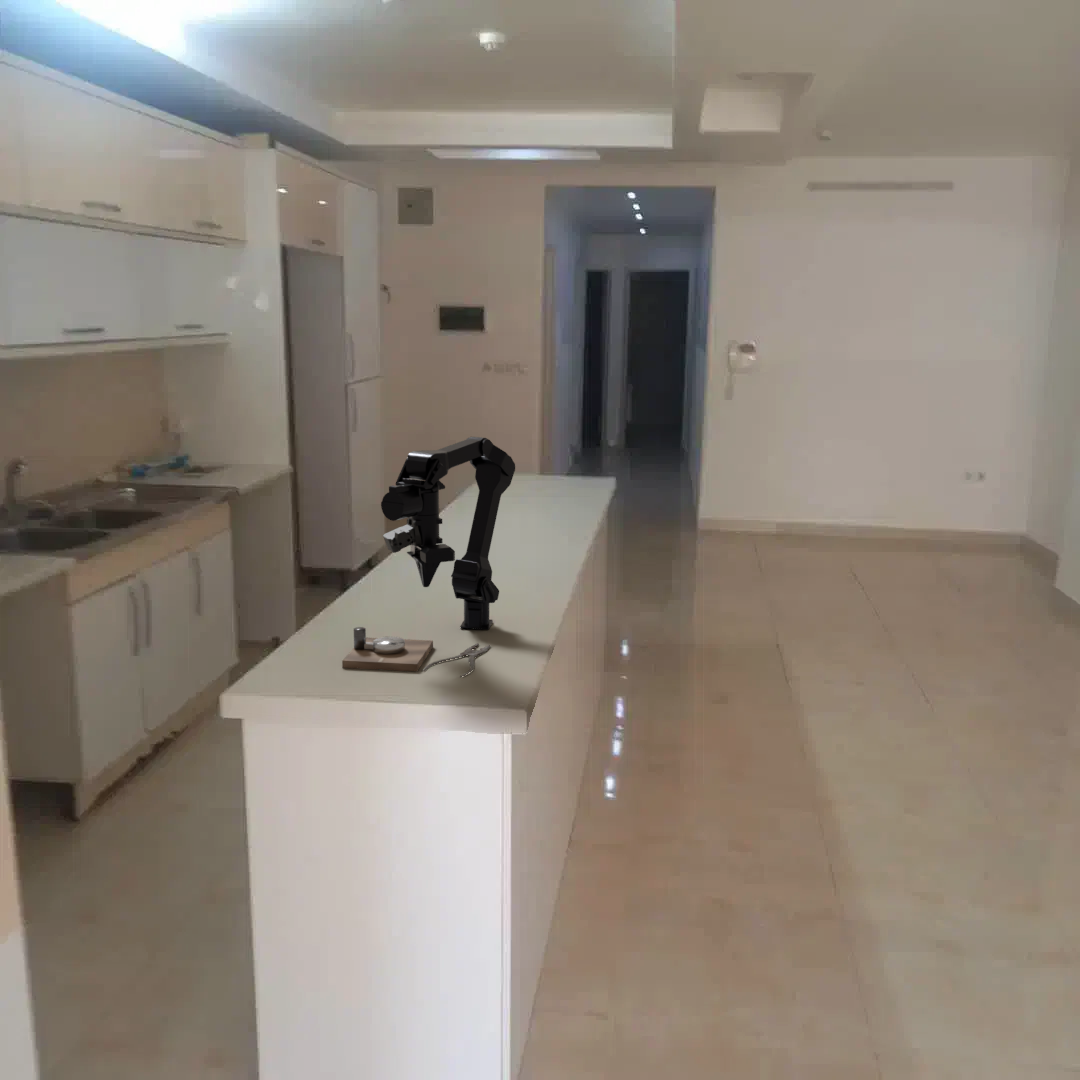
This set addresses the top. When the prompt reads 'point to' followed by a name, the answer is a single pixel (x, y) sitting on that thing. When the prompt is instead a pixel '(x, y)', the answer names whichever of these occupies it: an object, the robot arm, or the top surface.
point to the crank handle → (378, 642)
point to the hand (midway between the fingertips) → (425, 586)
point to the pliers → (469, 652)
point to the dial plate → (390, 657)
